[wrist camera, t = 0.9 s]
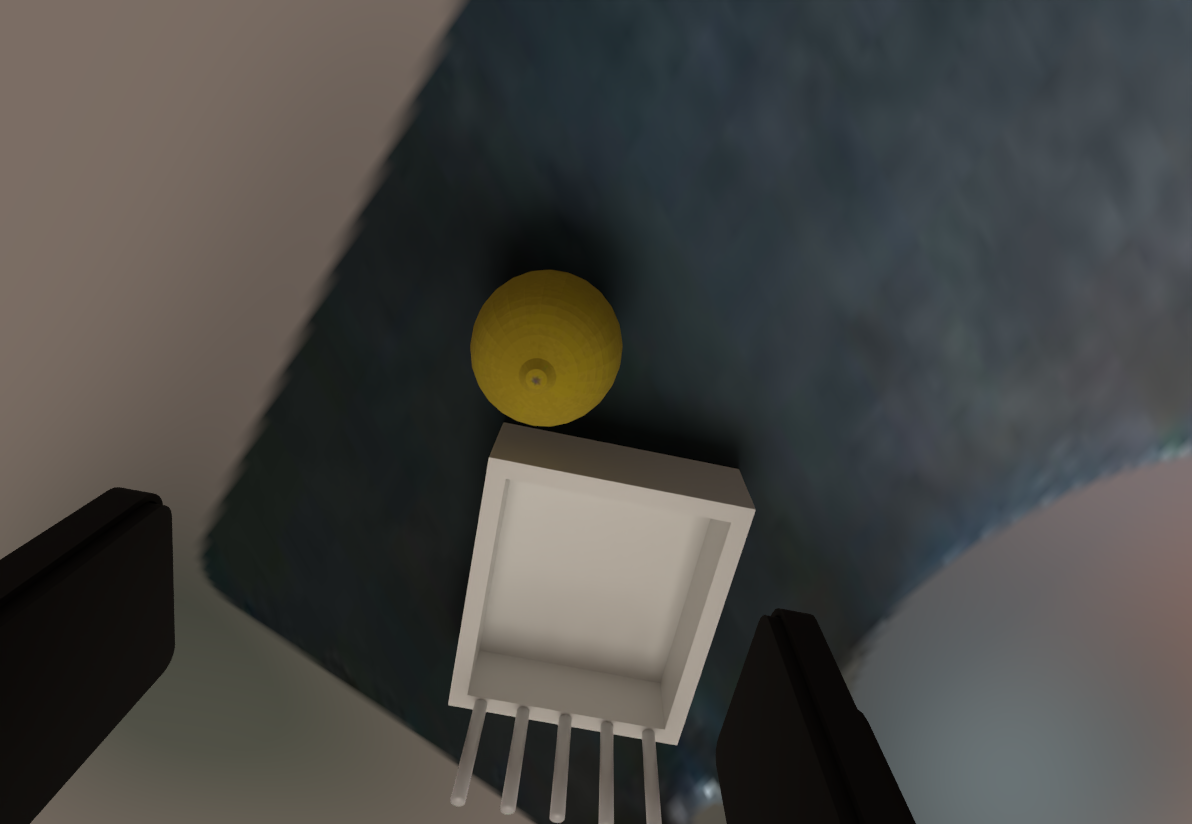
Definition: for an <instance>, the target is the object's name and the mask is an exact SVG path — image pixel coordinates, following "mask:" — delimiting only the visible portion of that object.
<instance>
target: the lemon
mask: <svg viewBox="0 0 1192 824" xmlns="http://www.w3.org/2000/svg"><path fill="white" fill-rule="evenodd" d="M470 349H471V359H472V368H473V371H474V374H475V376H476V379H477V382H478V384H479V387H480V388H481V390H482V391H483V393H484V394H485V396H486V397H487V399H488V400H489V401H490V402H491V403H492V404H493V405H494V406H495V407H496V408H497V409H498V410H499V411H501V412H502V413H503V414H505V415H507V416H509V417H511V418H512V419H514V420H516V421H519V422H522V423H526V424H529V425H533V426H556V425H561V424H566V423H569V422H571V421H573V420H575V419H577V418H580V417H582V416H584V415H585V414H587V413H588V412H589V411H590V410H591V409H593V408H594V407H595V406H596V405H598V404H599V403H600V402H601V400H602V399H603V398H604V396H605V395H606V394H607V392H608V391H609V389H610V388H611V387H612V385H613V382H614V380H615V377H616V375H617V372H618V370H619V367H620V361H621V353H622V339H621V332H620V325H619V323H618V320H617V318H616V316H615V313H614V311H613V308H612V307H611V305H610V304H609V303H608V301H607V300H606V299H605V297H604V296H603V295H602V293H601V292H600V291H599V290H597V289H596V288H595V287H594V286H592V285H591V284H590V283H589V282H587V281H586V280H584V279H582V278H580V277H577V276H575V275H573V274H571V273H568V272H562V271H556V270H538V271H531V272H528V273H525V274H522V275H520V276H517V277H514V278H512V279H511V280H509V281H508V282H506V283H505V284H503V285H502V286H500V287H499V288H497V289H496V290H495V291H494V293H493V294H492V295H491V296H490V297H489V299H488V300H487V301H486V302H485V303H484V305H483V306H482V308H481V310H480V313H479V315H478V317H477V319H476V321H475V324H474V327H473V333H472V339H471V346H470Z"/></svg>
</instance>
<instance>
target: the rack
mask: <svg viewBox="0 0 1192 824" xmlns="http://www.w3.org/2000/svg"><path fill="white" fill-rule="evenodd" d="M755 510H756V509H755V507H754V505H753V502H752V500H751V497H750V495H749V493H748V490H747V488H746V485H745V483H744V480H743V478H742V476H741V473H740V471H739V469H736V468H731V467H726V466H721V465H716V464H711V463H706V462H701V461H696V460H691V459H686V458H680V457H675V456H670V455H665V454H660V453H655V452H650V451H645V450H640V449H635V448H630V447H625V446H620V445H615V444H610V443H605V442H600V441H595V440H590V439H585V438H580V437H575V436H570V435H565V434H560V433H555V432H550V431H545V430H540V429H535V428H530V427H525V426H520V425H515V424H510V423H505V422H503V424H502V427H501V429H500V432H499V434H498V436H497V439H496V441H495V444H494V446H493V449H492V451H491V453H490V456H489V460H488V466H487V472H486V478H485V484H484V490H483V496H482V502H481V508H480V515H479V521H478V527H477V533H476V539H475V545H474V551H473V557H472V563H471V569H470V575H469V581H468V587H467V593H466V599H465V606H464V612H463V618H462V624H461V630H460V636H459V642H458V648H457V654H456V660H455V666H454V672H453V678H452V684H451V691H450V697H449V703H448V705H451V706H456V707H462V708H468V709H473V712H472V716H471V720H470V724H469V728H468V732H467V736H466V740H465V744H464V748H463V751H462V755H461V759H460V763H459V767H458V771H457V775H456V779H455V783H454V788H453V791H452V795H451V799H450V801H451V803H452V804H453V805H455V806H463V805H464V804H465V801H466V797H467V793H468V788H469V784H470V780H471V775H472V771H473V767H474V762H475V758H476V753H477V749H478V744H479V740H480V736H481V731H482V727H483V722H484V718H485V714H486V712H491V713H496V714H502V715H508V716H513V717H516V719H515V725H514V731H513V737H512V742H511V748H510V754H509V760H508V766H507V772H506V778H505V783H504V789H503V795H502V801H501V807H500V810H501V812H502V813H503V814H506V815H510V814H513V813H514V812H515V808H516V802H517V795H518V788H519V781H520V774H521V768H522V761H523V754H524V747H525V740H526V734H527V727H528V720H529V719H530V720H536V721H542V722H547V723H553V724H558V733H557V744H556V755H555V765H554V776H553V787H552V797H551V808H550V820H551V821H552V822H554V823H561V822H563V821H564V819H565V806H566V792H567V778H568V764H569V749H570V735H571V727H576V728H582V729H587V730H593V731H599V732H600V784H599V824H614V780H613V734H616V735H621V736H627V737H633V738H639V739H642V744H643V763H644V781H645V799H646V818H647V824H662V823H661V810H660V797H659V784H658V771H657V758H656V745H655V741H656V742H661V743H667V744H673V745H677V744H678V741H679V738H680V735H681V732H682V729H683V726H684V723H685V720H686V717H687V714H688V711H689V708H690V705H691V702H692V699H693V696H694V693H695V690H696V687H697V684H698V681H699V678H700V675H701V672H702V669H703V666H704V663H705V660H706V657H707V654H708V651H709V648H710V645H711V642H712V639H713V636H714V633H715V630H716V627H717V624H718V621H719V618H720V615H721V612H722V609H723V606H724V603H725V600H726V597H727V594H728V591H729V588H730V585H731V582H732V579H733V576H734V573H735V570H736V567H737V564H738V561H739V558H740V555H741V552H742V549H743V546H744V543H745V540H746V537H747V534H748V531H749V528H750V525H751V522H752V519H753V516H754V513H755Z"/></svg>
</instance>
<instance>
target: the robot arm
mask: <svg viewBox="0 0 1192 824" xmlns="http://www.w3.org/2000/svg"><path fill="white" fill-rule="evenodd" d="M173 589H174V588H173V545H172V514H171V510H170V508H169V507H167V506H165V505H163V503H162V500H161V498H160V497H159V496H158V495H156V494H153V493H148V492H142V491H137V490H131V489H126V488H120V487H119V488H118V487H117V488H112V489H110V490H108V491H106V492H105V493H103V494H102V495H100V496H99V497H97V498H96V499H94V500H93V501H91V502H90V503H88V504H87V505H85V506H83V507H82V508H80V509H79V510H77V511H76V512H74V513H72V514H71V515H69V516H68V517H66V518H64V519H63V520H62V521H60V522H58V523H57V524H55V525H54V526H52V527H51V528H49V529H48V530H46V531H44V532H43V533H41V534H40V535H38V536H37V537H35V538H33V539H32V540H30V541H29V542H27V543H26V544H24V545H23V546H21V547H19V548H18V549H16V550H15V551H13V552H12V553H10V554H9V555H7V556H5V557H4V558H2V559H1V560H0V824H30V823H31V822H32V821H33V819H34V818H35V817H36V816H37V815H38V814H39V813H40V812H41V810H42V809H43V808H44V807H45V806H46V805H47V804H48V802H49V801H50V800H51V799H52V798H53V797H54V796H55V795H56V793H57V792H58V791H59V790H60V789H61V788H62V787H63V785H64V784H65V783H66V782H67V781H68V780H69V779H70V778H71V776H72V775H73V774H74V773H75V772H76V771H77V770H78V768H79V767H80V766H81V765H82V764H83V763H84V762H85V760H86V759H87V758H88V757H89V756H90V755H91V754H92V753H93V752H94V750H95V749H96V748H97V747H98V746H99V745H100V744H101V742H102V741H103V740H104V739H105V738H106V737H107V736H108V734H109V733H110V732H111V731H112V730H113V729H114V728H115V726H116V725H117V724H118V723H119V722H120V721H121V720H122V718H123V717H124V716H125V715H126V714H127V713H128V712H129V711H130V710H131V709H132V707H133V706H134V705H135V704H136V703H137V702H138V701H139V699H140V698H141V697H142V696H143V695H144V694H145V693H146V692H147V690H148V689H149V688H150V687H151V686H152V685H153V684H154V683H155V681H156V680H157V679H158V678H159V677H160V676H161V675H162V673H163V672H164V671H165V670H166V668H167V666H168V665H169V663H170V661H171V659H172V656H173V653H174V648H175V633H174V631H175V630H174V590H173ZM716 766H717V772H718V777H719V783H720V789H721V794H722V800H723V805H724V811H725V816H726V821H727V824H916V823H915V821H914V819H913V817H912V814H911V812H910V810H909V808H908V806H907V804H906V802H905V799H904V797H903V795H902V793H901V791H900V789H899V787H898V784H897V782H896V780H895V778H894V776H893V774H892V772H891V770H890V767H889V765H888V763H887V761H886V759H885V757H884V755H883V752H882V750H881V749H880V746H879V744H878V742H877V740H876V738H875V735H874V733H873V731H872V729H871V727H870V725H869V723H868V721H867V719H866V718H865V716H864V715H863V713H862V712H860V711H859V710H858V709H857V707H856V705H855V703H854V701H853V699H852V696H851V694H850V692H849V690H848V688H847V686H846V683H845V681H844V679H843V677H842V675H841V673H840V670H839V668H838V666H837V664H836V662H835V659H834V657H833V655H832V653H831V651H830V649H829V646H828V644H827V642H826V640H825V638H824V635H823V633H822V631H821V629H820V627H819V625H818V622H817V620H816V619H815V617H814V616H813V615H811V614H807V613H801V612H796V611H790V610H785V609H780V608H778V609H775V610H774V612H773V613H772V615H771V616H767V615H764V616H762V617H761V619H760V621H759V623H758V626H757V629H756V632H755V635H754V637H753V640H752V643H751V646H750V649H749V652H748V655H747V657H746V660H745V663H744V666H743V669H742V672H741V675H740V678H739V680H738V683H737V686H736V689H735V692H734V695H733V698H732V700H731V703H730V706H729V709H728V712H727V715H726V718H725V721H724V723H723V726H722V729H721V732H720V735H719V738H718V741H717V747H716Z"/></svg>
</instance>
